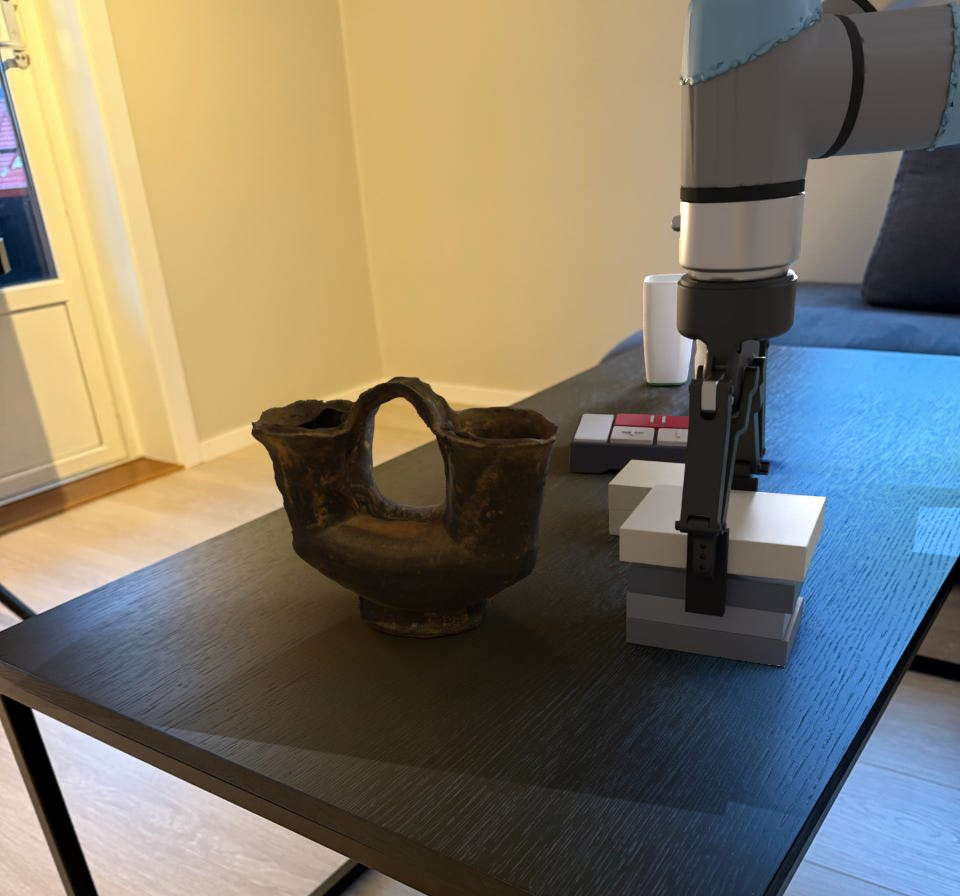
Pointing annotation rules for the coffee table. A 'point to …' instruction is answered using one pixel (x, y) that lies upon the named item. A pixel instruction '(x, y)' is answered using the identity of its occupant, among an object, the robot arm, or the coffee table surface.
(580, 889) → the coffee table surface
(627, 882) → the coffee table surface
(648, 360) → the cup
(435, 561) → the pottery vessel
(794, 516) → the flat white block
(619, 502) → the white books
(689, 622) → the grey books
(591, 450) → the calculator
